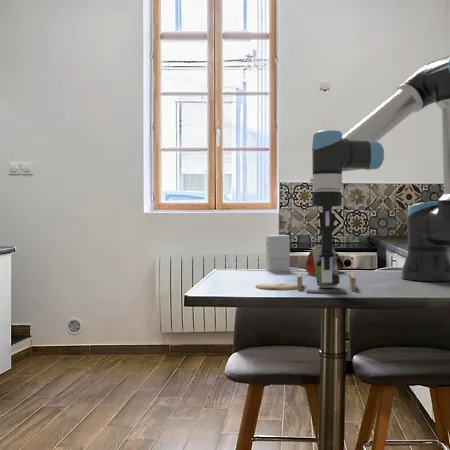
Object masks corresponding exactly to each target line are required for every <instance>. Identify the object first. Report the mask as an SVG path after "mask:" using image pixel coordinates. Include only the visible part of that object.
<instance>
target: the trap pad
mask: <svg viewBox="0 0 450 450" xmlns="http://www.w3.org/2000/svg"><path fill="white" fill-rule="evenodd" d="M306 294H323V295H325V294H328V295H331V294H332V295H348V292H347V290H328V289H327V290H322V289H320V290H319V289H306Z"/></svg>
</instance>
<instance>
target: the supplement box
mask: <svg viewBox="0 0 450 450" xmlns="http://www.w3.org/2000/svg"><path fill="white" fill-rule="evenodd" d="M265 237H266V240H265V241H266V242H265V244H266V247H265V248H266V249H265V250H266V252H265V253H266V260H265V261H266V263H265V264H266V267H265V268H266V269H265V270H266V271H268V272H271V273H272V272H273V273H275V272H276V273H277V272H280V273H281V272H283V273H284V272H291V270H290V269H291V266H290V265H291V263H290V261H291V260H290V259H291V258H290V257H291V256H290V255H291V254H290V253H291V248H290V247H291V246H290V245H291V242H290V241H291V238H290V235H288V234H267V235H266V236H265Z"/></svg>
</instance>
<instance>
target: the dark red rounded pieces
mask: <svg viewBox="0 0 450 450" xmlns="http://www.w3.org/2000/svg"><path fill="white" fill-rule="evenodd" d="M312 251H313V249H312V250H311V251H310V252H309V253H308V255H307V256H306V260H305V261H306V262H305V267H304V268H305V271H306V272H307V274H309V275H315V276H316V273H315V266H314V259H313V253H312ZM335 254H336V261H337V267H338V272H339V271H340V270H341V269H342V268H344V267H345V264H344V263H343V261H342V258H341V257H340V255H339V253H337V252H335Z"/></svg>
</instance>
